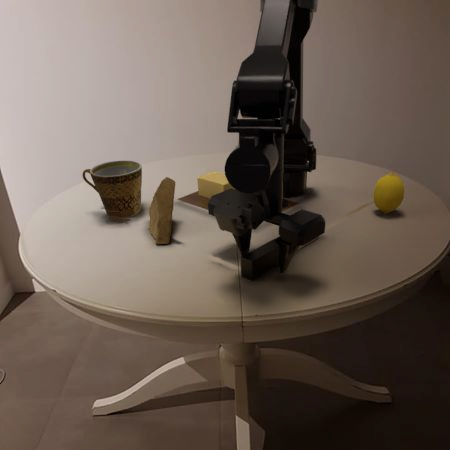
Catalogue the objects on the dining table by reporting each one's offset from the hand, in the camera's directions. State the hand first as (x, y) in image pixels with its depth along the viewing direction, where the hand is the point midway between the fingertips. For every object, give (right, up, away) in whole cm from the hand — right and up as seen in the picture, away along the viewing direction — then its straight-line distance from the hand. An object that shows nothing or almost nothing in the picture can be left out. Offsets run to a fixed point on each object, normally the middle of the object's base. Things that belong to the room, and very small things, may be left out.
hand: (263, 264), depth 75 cm
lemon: (+25, +11, +17) cm, 32 cm away
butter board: (-4, +14, +24) cm, 28 cm away
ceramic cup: (-28, +12, +22) cm, 38 cm away
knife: (+4, +2, +4) cm, 6 cm away
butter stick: (-7, +17, +26) cm, 32 cm away
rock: (-18, +7, +14) cm, 24 cm away
